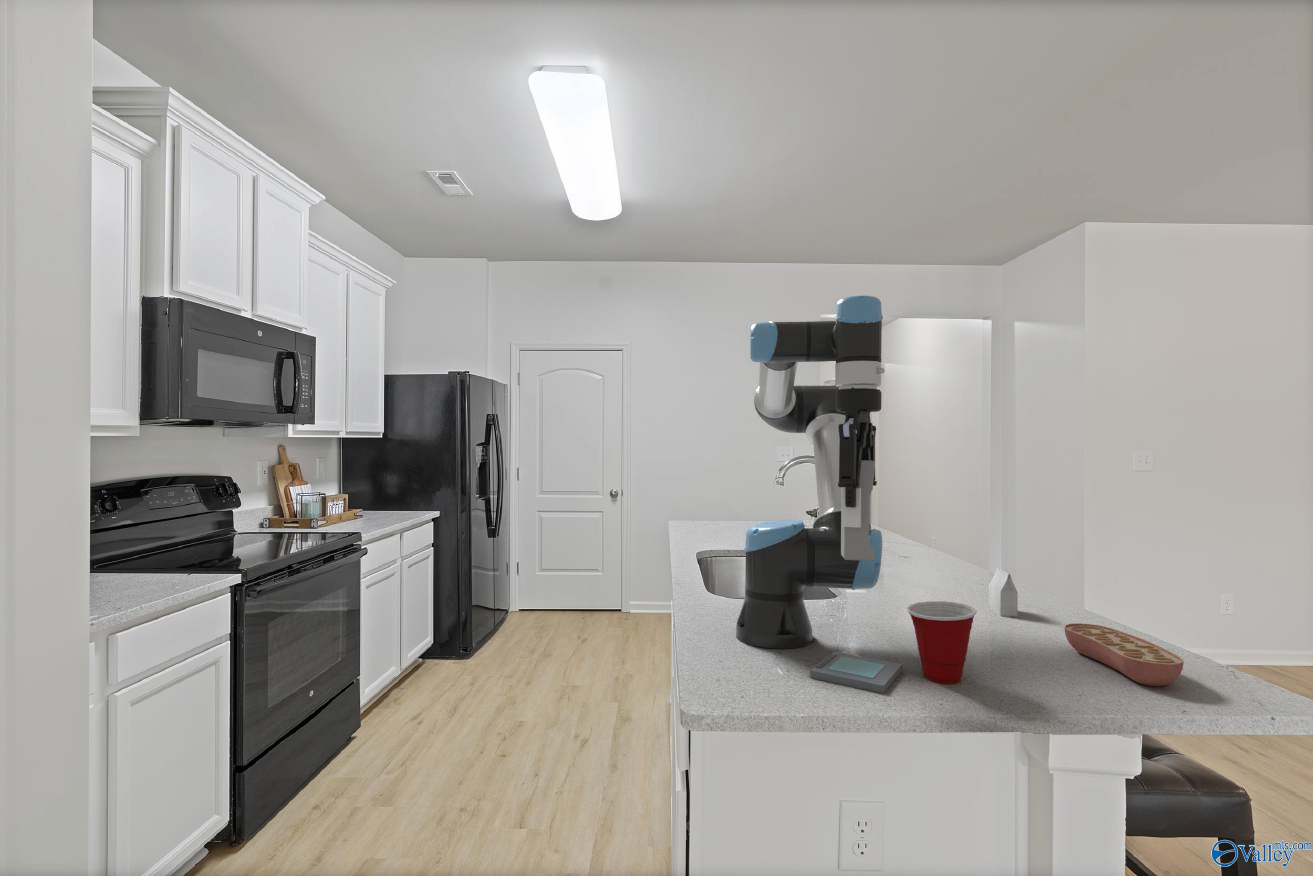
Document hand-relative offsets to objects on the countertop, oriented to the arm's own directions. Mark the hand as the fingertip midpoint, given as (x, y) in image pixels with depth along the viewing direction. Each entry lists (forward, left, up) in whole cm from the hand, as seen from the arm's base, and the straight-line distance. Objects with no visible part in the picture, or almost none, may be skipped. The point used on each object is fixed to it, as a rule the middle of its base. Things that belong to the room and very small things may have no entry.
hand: (857, 524), depth 111 cm
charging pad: (0, 0, -25) cm, 25 cm away
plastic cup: (+12, +7, -26) cm, 29 cm away
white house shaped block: (+16, +59, -26) cm, 66 cm away
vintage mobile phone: (0, 0, -6) cm, 6 cm away
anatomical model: (+37, +30, -26) cm, 54 cm away
